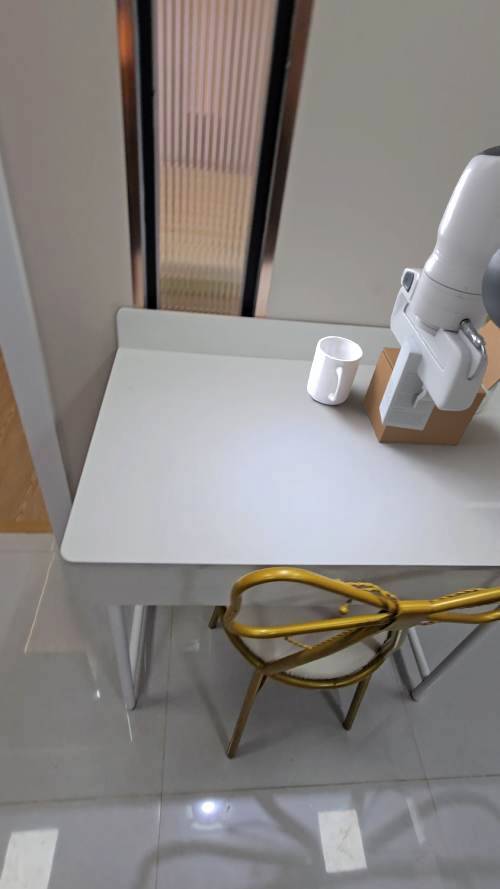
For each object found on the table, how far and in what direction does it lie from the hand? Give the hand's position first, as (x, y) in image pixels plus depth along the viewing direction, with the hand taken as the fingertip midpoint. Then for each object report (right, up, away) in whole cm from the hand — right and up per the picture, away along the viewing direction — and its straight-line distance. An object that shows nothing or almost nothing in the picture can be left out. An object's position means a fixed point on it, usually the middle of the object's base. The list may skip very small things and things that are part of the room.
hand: (410, 394), depth 66 cm
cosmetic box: (-1, -3, +3) cm, 5 cm away
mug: (-5, +3, +40) cm, 40 cm away
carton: (+12, -2, +36) cm, 38 cm away
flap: (+24, +10, +25) cm, 36 cm away
